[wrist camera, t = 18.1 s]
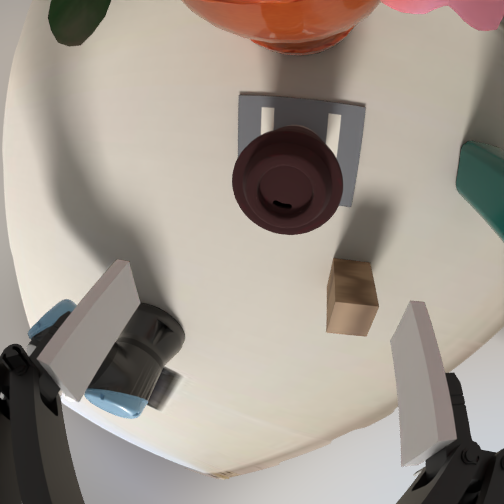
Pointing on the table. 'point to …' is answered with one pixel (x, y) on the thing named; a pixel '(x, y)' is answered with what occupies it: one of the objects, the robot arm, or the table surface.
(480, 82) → the table surface
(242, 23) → the potted flower
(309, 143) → the coffee cup
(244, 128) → the letter mat
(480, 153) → the pitcher
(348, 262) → the walnut block
